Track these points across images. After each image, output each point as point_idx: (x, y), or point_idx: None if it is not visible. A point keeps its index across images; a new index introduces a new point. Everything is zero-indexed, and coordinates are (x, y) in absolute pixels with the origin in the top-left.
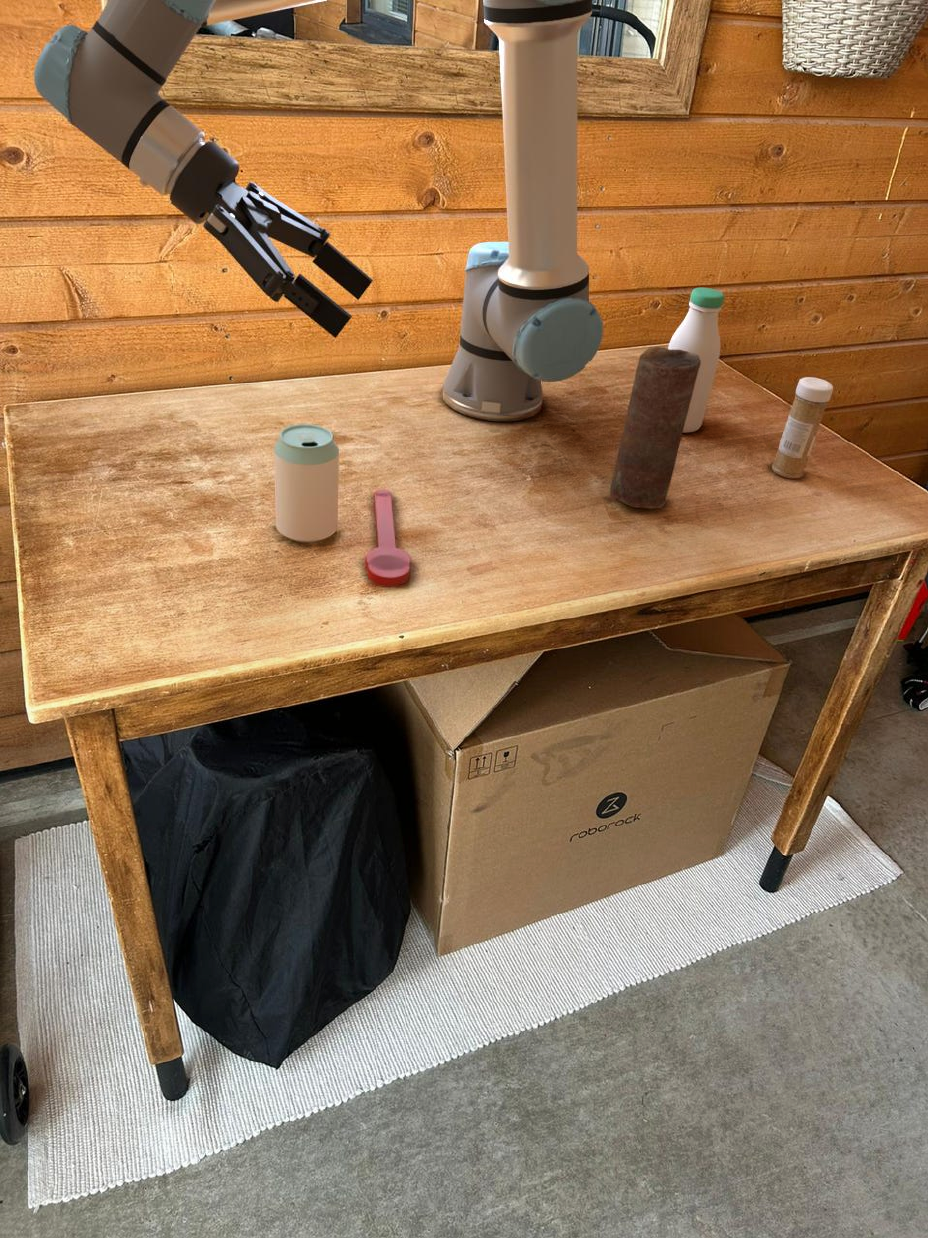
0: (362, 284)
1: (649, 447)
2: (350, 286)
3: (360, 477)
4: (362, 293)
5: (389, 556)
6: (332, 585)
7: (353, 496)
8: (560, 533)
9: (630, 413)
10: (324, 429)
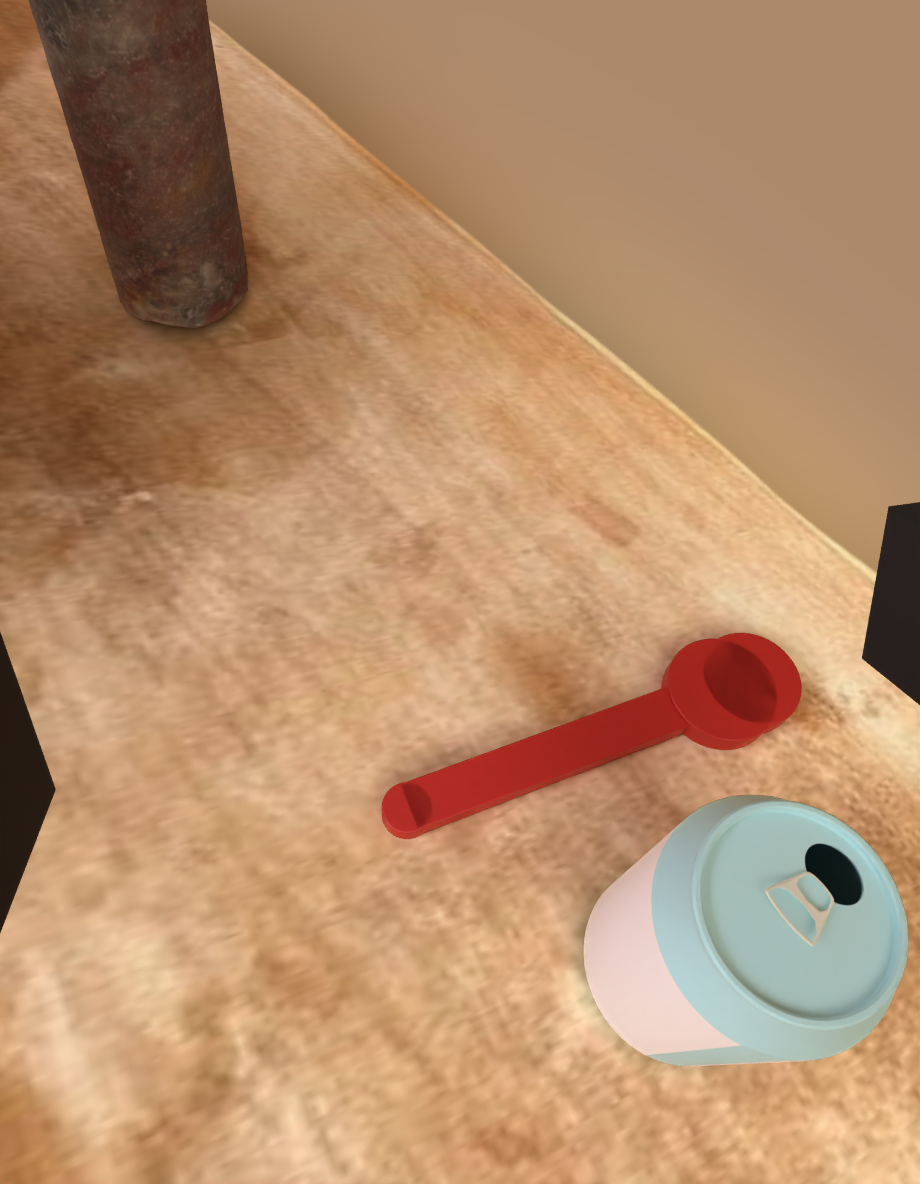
0: (8, 714)
1: (227, 145)
2: (8, 830)
3: (290, 929)
4: (37, 740)
5: (715, 687)
6: (855, 792)
7: (421, 904)
8: (389, 409)
9: (165, 118)
10: (705, 863)
